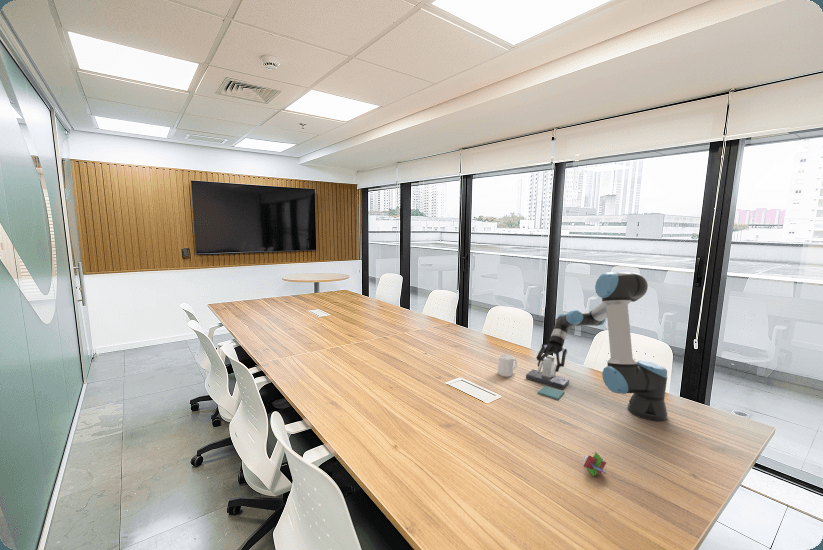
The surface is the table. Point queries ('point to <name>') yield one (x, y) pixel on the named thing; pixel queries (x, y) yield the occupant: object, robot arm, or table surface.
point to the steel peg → (548, 367)
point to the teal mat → (551, 392)
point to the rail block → (555, 381)
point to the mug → (506, 365)
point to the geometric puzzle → (594, 464)
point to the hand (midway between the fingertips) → (545, 374)
